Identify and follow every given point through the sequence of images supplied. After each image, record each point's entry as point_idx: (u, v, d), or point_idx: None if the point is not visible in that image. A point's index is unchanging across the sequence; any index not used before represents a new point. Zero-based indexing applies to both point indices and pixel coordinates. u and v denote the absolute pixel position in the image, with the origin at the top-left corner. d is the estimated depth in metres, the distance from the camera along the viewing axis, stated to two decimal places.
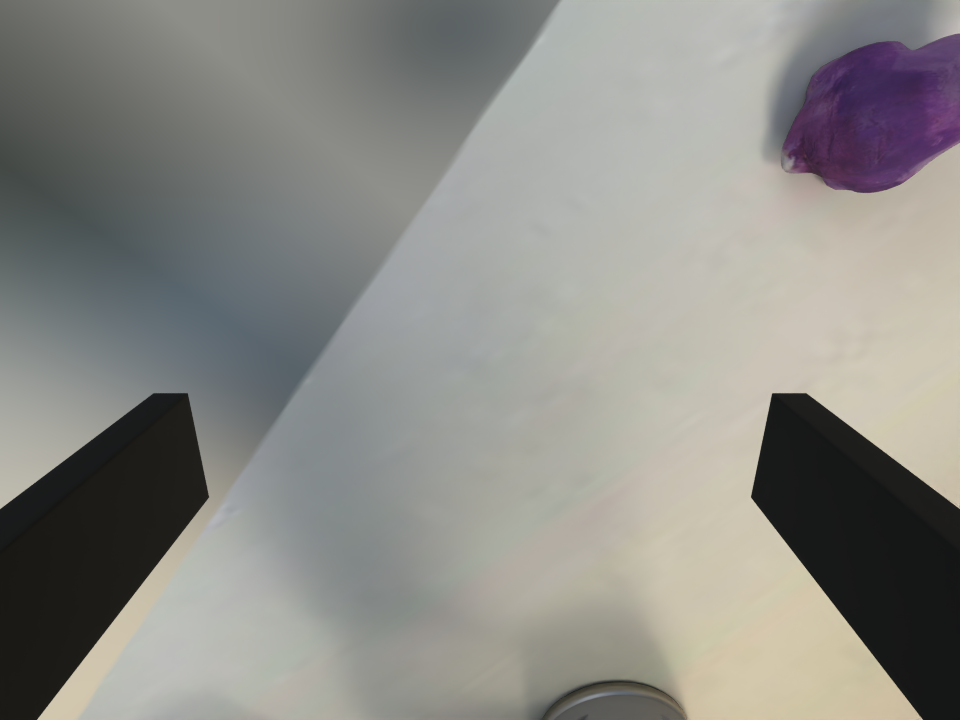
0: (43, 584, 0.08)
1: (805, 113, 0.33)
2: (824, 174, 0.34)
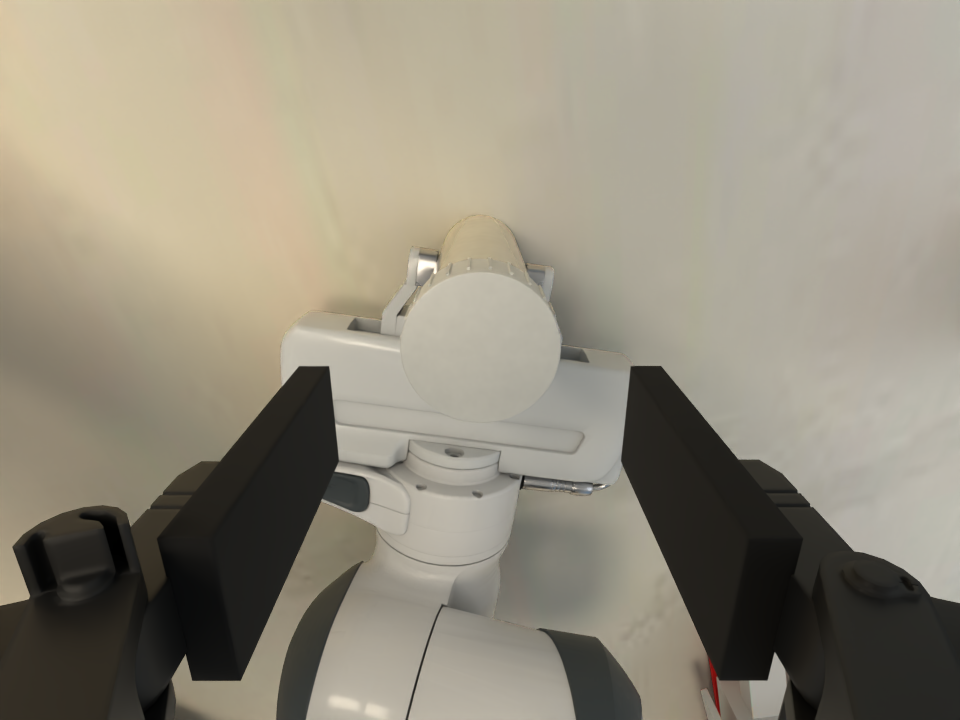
0: (266, 515, 0.10)
1: None
2: None
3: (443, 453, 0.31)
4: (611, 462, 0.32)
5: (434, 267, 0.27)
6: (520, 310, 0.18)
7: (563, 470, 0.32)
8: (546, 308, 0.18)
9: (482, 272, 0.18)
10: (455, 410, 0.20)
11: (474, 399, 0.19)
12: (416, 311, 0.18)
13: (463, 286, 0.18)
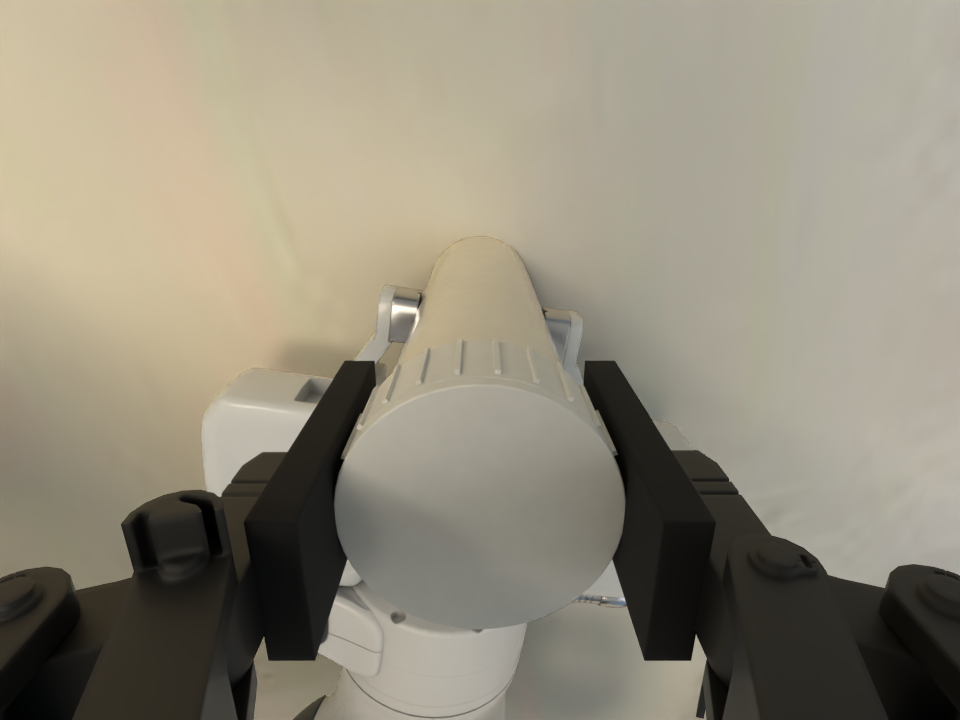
0: (332, 503, 0.10)
1: None
2: None
3: None
4: None
5: None
6: (554, 451, 0.10)
7: None
8: (602, 447, 0.10)
9: (483, 384, 0.09)
10: (435, 610, 0.11)
11: (468, 594, 0.11)
12: (360, 452, 0.10)
13: (447, 409, 0.09)
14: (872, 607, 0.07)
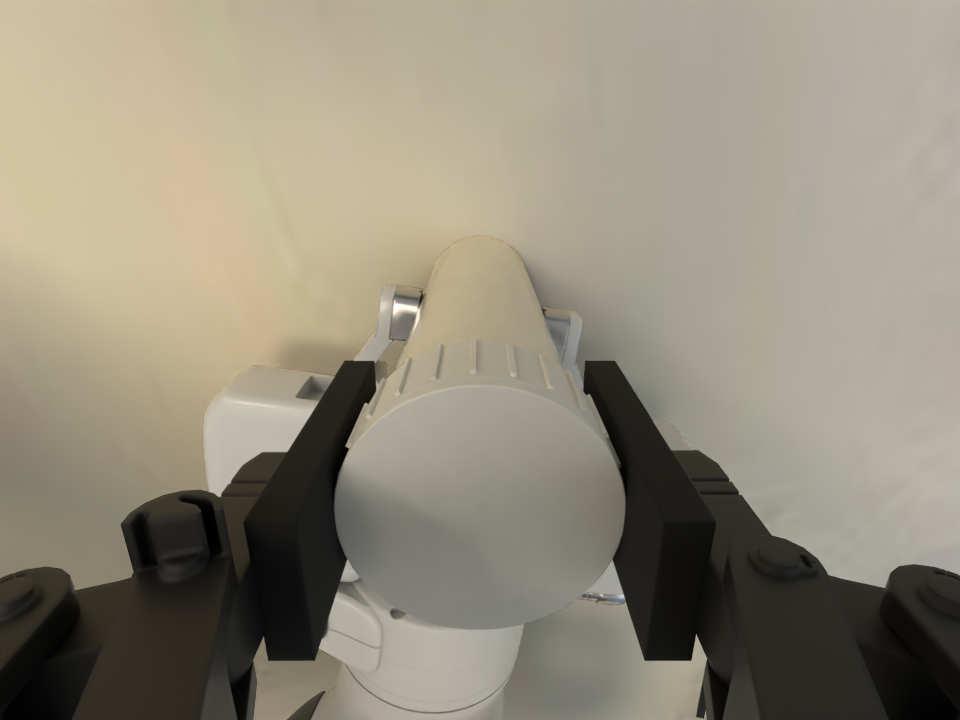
0: (331, 503, 0.10)
1: None
2: None
3: None
4: None
5: None
6: (374, 514, 0.10)
7: None
8: (340, 485, 0.10)
9: (371, 588, 0.11)
10: (605, 487, 0.10)
11: (564, 475, 0.10)
12: (491, 624, 0.11)
13: (409, 597, 0.11)
14: (873, 607, 0.07)
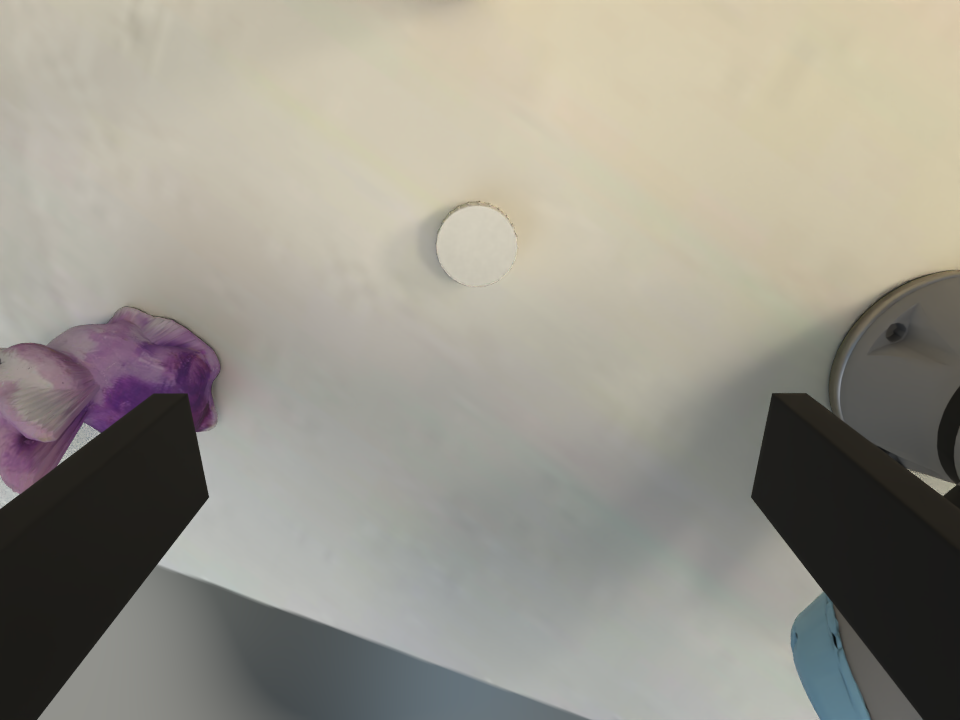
0: (43, 584, 0.08)
1: None
2: (199, 418, 0.40)
3: None
4: None
5: None
6: (493, 270, 0.38)
7: None
8: (491, 282, 0.38)
9: (515, 256, 0.37)
10: (446, 227, 0.37)
11: (451, 238, 0.37)
12: (504, 220, 0.36)
13: (511, 246, 0.37)
14: None
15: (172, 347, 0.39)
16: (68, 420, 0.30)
